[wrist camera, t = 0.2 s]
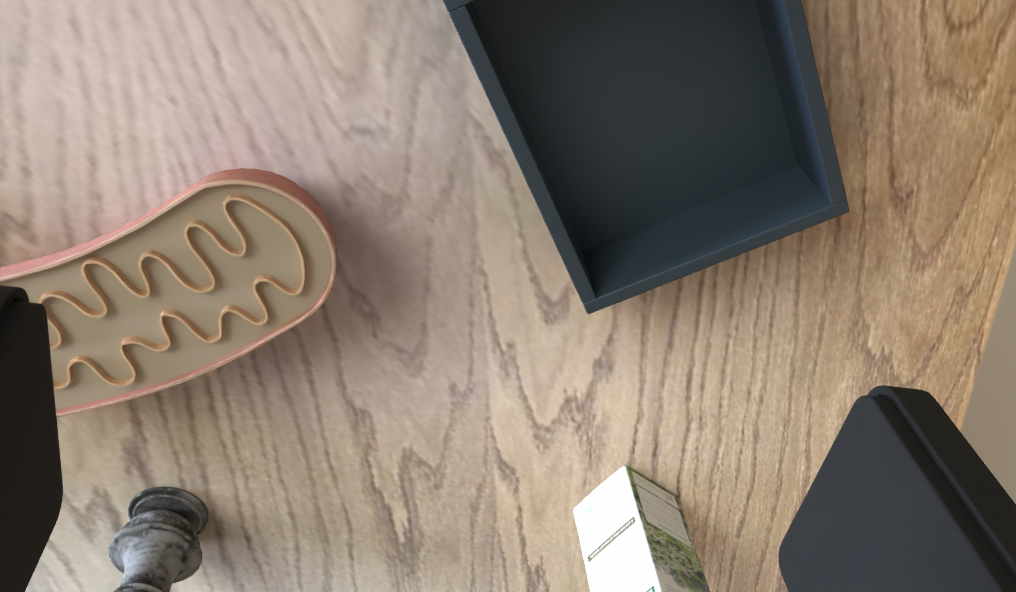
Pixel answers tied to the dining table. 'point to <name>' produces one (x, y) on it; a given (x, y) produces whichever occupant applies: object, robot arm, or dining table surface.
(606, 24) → the bin
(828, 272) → the dining table surface
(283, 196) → the anatomical model
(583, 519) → the syrup box
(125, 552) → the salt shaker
